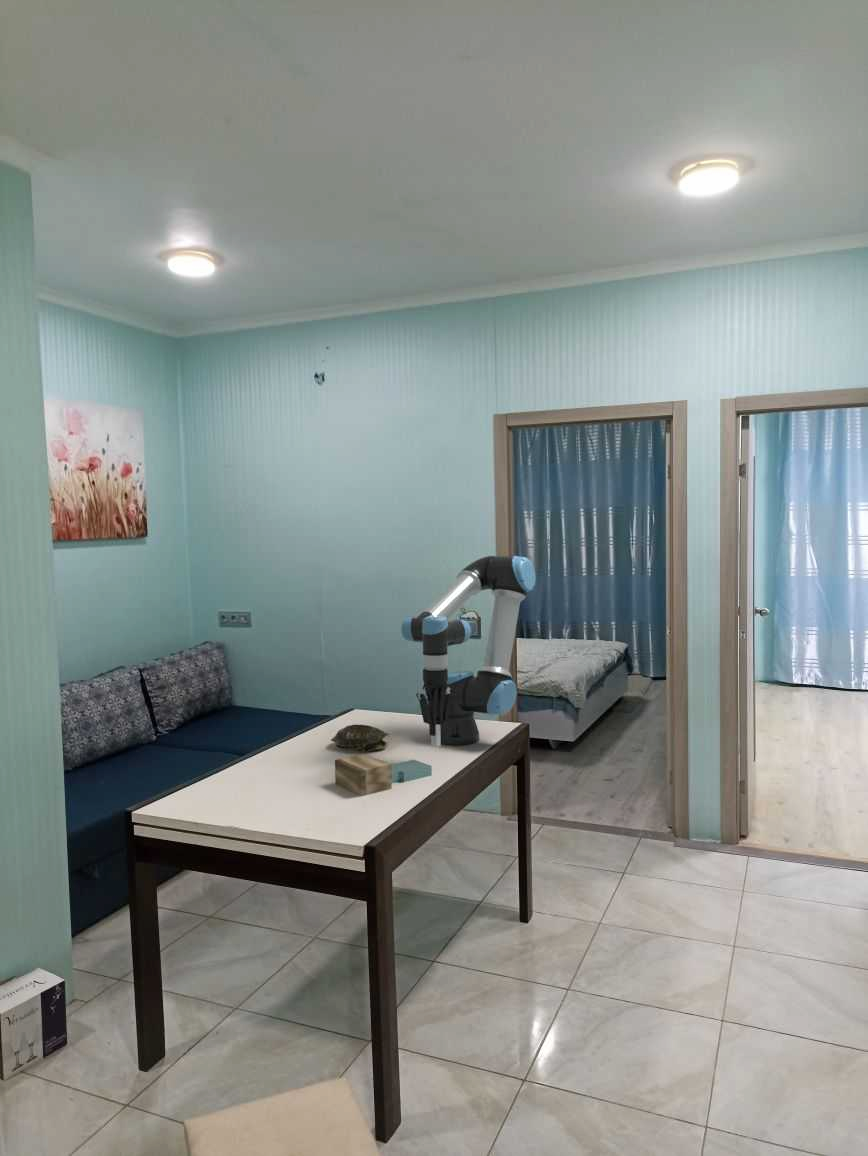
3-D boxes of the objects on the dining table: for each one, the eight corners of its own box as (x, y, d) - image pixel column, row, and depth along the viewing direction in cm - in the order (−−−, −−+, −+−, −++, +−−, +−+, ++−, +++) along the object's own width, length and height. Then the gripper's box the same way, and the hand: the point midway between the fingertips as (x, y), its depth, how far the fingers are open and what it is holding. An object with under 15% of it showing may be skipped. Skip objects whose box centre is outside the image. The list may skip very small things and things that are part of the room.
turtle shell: (347, 722, 299) (395, 716, 289) (351, 747, 298) (400, 743, 289) (319, 731, 285) (368, 726, 275) (323, 758, 284) (373, 754, 275)
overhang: (364, 777, 253) (364, 753, 253) (391, 788, 242) (391, 764, 242) (335, 783, 247) (334, 760, 247) (361, 796, 236) (361, 771, 236)
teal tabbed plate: (413, 769, 261) (413, 759, 261) (431, 775, 254) (431, 765, 254) (375, 778, 253) (374, 768, 252) (392, 785, 246) (392, 774, 245)
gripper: (444, 664, 266) (445, 739, 267) (410, 668, 258) (411, 746, 259) (459, 667, 260) (460, 744, 261) (425, 672, 252) (426, 751, 253)
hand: (435, 745), depth 260 cm, fingers closed
